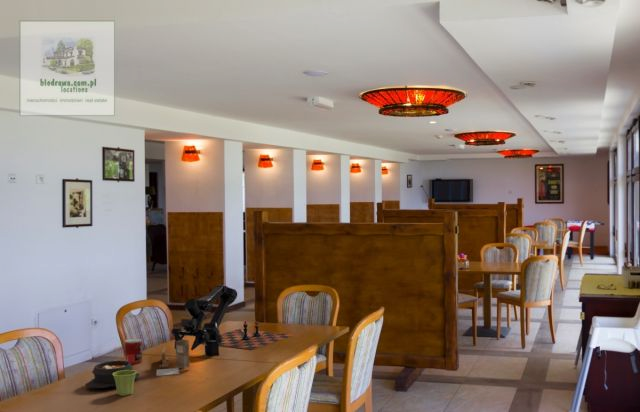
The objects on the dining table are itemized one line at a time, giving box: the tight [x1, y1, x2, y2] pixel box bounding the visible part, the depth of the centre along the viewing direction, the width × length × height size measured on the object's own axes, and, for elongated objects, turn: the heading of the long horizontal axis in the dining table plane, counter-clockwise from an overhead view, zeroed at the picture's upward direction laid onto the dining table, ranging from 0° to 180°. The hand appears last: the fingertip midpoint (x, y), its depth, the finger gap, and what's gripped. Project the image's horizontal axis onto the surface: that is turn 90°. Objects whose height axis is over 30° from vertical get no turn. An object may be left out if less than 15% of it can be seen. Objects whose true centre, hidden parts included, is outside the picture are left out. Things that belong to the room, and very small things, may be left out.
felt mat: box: [155, 367, 180, 377], centre depth 310 cm, size 10×10×1 cm
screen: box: [159, 347, 169, 368], centre depth 326 cm, size 4×14×6 cm, turn 13°
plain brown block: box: [175, 339, 190, 370], centre depth 318 cm, size 4×4×12 cm
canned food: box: [124, 337, 143, 365], centre depth 329 cm, size 8×8×11 cm
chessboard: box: [201, 320, 295, 351], centre depth 376 cm, size 40×40×11 cm
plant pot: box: [113, 369, 138, 397], centre depth 278 cm, size 9×9×9 cm
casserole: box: [84, 360, 140, 389], centre depth 293 cm, size 25×19×8 cm
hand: (183, 349), depth 319 cm, fingers open, 9 cm apart
